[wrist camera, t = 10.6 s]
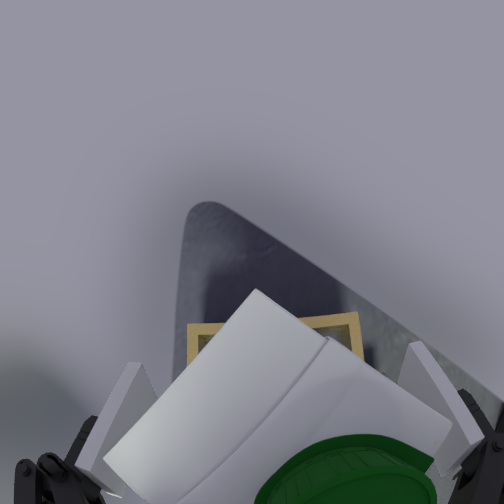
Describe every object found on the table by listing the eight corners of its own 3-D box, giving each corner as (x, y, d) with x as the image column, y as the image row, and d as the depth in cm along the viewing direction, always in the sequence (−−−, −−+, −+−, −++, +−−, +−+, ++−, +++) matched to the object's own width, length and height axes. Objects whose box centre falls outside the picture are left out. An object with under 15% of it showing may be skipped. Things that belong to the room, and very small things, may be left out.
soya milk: (283, 467, 18) (297, 628, 1) (205, 410, 21) (34, 457, 4) (344, 395, 21) (516, 410, 3) (266, 339, 24) (242, 215, 6)
